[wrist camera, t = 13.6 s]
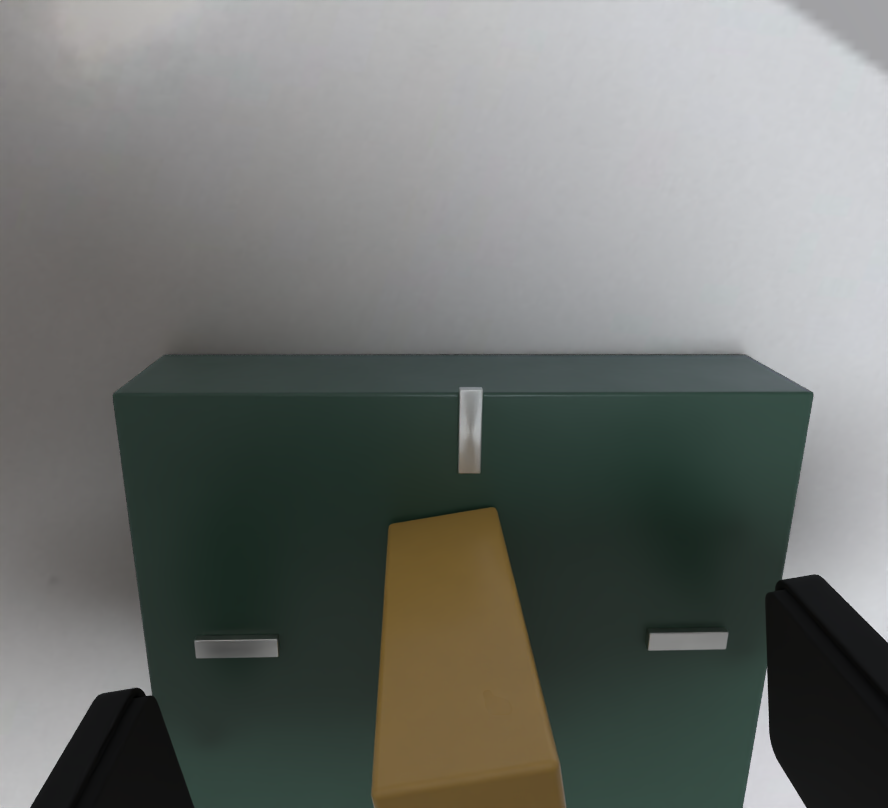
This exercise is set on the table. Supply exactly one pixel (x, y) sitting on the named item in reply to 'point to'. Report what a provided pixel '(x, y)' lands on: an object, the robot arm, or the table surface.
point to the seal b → (458, 675)
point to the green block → (446, 492)
